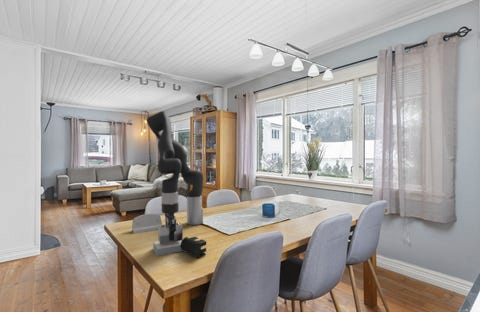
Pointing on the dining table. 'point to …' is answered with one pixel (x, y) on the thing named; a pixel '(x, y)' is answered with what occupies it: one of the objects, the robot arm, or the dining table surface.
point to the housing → (164, 233)
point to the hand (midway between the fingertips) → (170, 238)
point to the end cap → (193, 246)
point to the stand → (167, 248)
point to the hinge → (146, 223)
